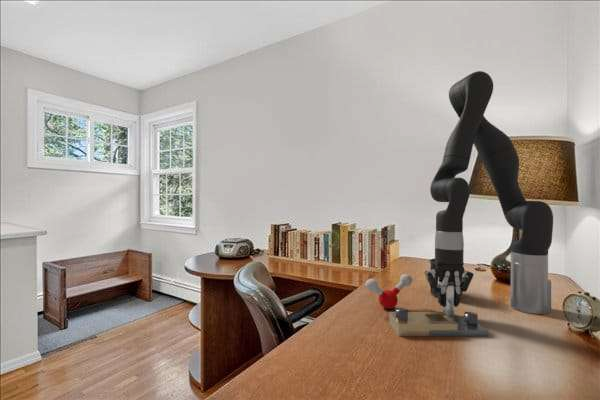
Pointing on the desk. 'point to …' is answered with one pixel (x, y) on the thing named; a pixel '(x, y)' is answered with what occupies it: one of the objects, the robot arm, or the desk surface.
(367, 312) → the desk surface
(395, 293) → the molecular model
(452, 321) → the two-tone base plate
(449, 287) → the pin
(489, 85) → the robot arm
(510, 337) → the desk surface
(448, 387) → the desk surface
